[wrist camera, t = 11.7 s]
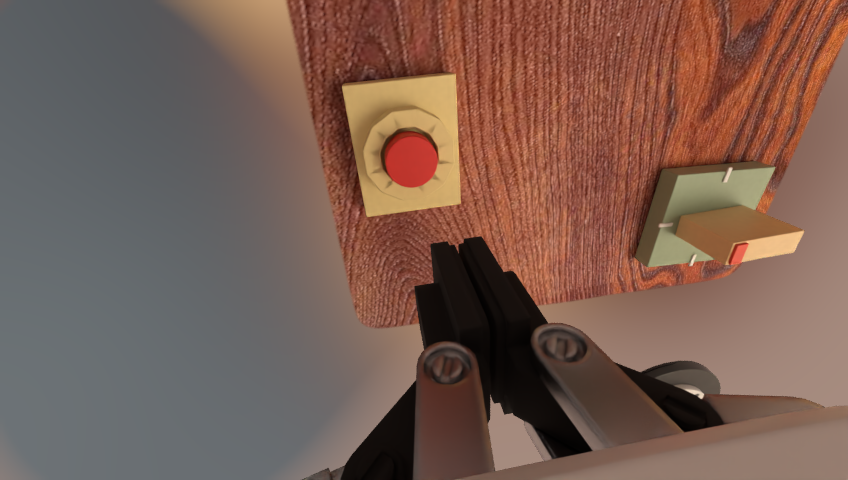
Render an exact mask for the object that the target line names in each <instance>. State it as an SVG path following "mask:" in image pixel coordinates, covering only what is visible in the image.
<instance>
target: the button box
mask: <svg viewBox="0 0 848 480" xmlns="http://www.w3.org/2000/svg"><path fill="white" fill-rule="evenodd" d="M342 91H343V96H344V101H345V107H346V112H347V117H348V122H349V128H350V133H351V138H352V144H353V149H354V154H355V159H356V165H357V170H358V175H359V180H360V186H361V191H362V196H363V202H364V207H365V212H366V216H367V217H370V216H378V215H385V214H392V213H399V212H406V211H413V210H421V209H428V208H435V207H442V206H449V205H456V204H460V203H461V199H460V173H459V147H458V121H457V95H456V74H454V73H450V72H446V73H437V74H427V75H418V76H409V77H399V78H390V79H381V80H372V81H362V82H353V83H345V84H343V86H342ZM406 131H414V132H418V133H420V134H422V135H424V136H425V137H426V138H427V139H428V140H429V141H430V143H431V144H432V146H433V147H434V149H435V151H436V153H437V158H438V165H437V169H436V172H435V174H434V175H433V177H432V178H431V179H430V180H429V181H428V182H427V183H425V184H424V185H421V186H419V187H413V188H409V187H404V186H401V185H399V184H397V183H396V182H394V181H393V180H392V179H391V177H390V176H389V174H388V172H387V169H386V164H385V150H386V147H387V145H388V143H389V141H390V140H391V139H392V138H393V137H394V136H396V135H397V134H399V133H402V132H406Z"/></svg>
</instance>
